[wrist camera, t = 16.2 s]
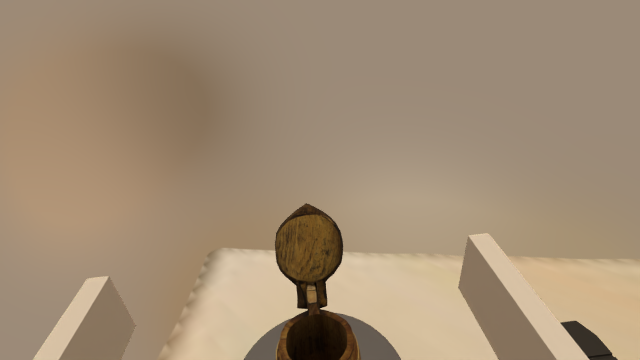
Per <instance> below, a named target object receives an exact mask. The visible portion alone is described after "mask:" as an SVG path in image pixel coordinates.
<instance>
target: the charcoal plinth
mask: <svg viewBox="0 0 640 360" xmlns="http://www.w3.org/2000/svg"><path fill="white" fill-rule="evenodd" d="M335 314H337V315H338V316H340V317H342V318H343V319H345V320H346V321H347V322H348V323H349V325H350V326H351V329H352V331H353V333H354V334H355V337H356V339H357V342H358V345H359V349H360V355H361V360H401V358H400V357H399V355H398V353H397V352H396V350H395V349H394V348H393V346H392V345H391V344H390V343H389V342H388V340H387V339H386V338H385V337H384V336H383V335H381V334H380V333H379V332H378V331H377V330H375V329H374V328H373V327H371V326H370V325H368V324H366V323H364V322H363V321H361V320H358V319H356V318H353V317H351V316H347V315H344V314H338V313H335ZM291 319H292V318H291ZM291 319H289V320H291ZM289 320H286V321H285V322H283V323H281V324H279V325H277V326H276V327H274V328H273V329H271V330H270V331H268V332H267V333H266V334H265V335H264V336H263V337H261V338H260V339H259V340H258V342H257V343H256V344H255V345H254V346H253V347H252V348H251V350H250V351H249V352H248V354H247V355H246V357H245V358H244V360H275V359H276V348H277V345H278V342H279V340H280V335H281V331H282V330H283V328H284V326H285V324H286V323H287V322H288V321H289Z"/></svg>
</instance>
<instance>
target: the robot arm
mask: <svg viewBox="0 0 640 360" xmlns="http://www.w3.org/2000/svg"><path fill="white" fill-rule="evenodd" d="M458 288H459V289H460V291H461V293H462V295H463V297H464V298H465V300H466V302H467V304H468V306H469V307H470V309H471V311H472V313H473V314H474V316H475V318H476V320H477V322H478V323H479V325H480V327H481V329H482V331H483V332H484V334H485V336H486V338H487V339H488V341H489V343H490V345H491V347H492V348H493V350H494V352H495V354H496V356H497V357H498V359H499V360H617V358H616V357H613V356H612V353H611V352H610V350H609V349H608V348H607V347H606V346H605V345H604V344H603V342H602V341H601V340H600V339H599V338H598V337H597V336H596V335H595V334H594V333H592V332H591V331H590V330H588V329H587V328H586V327H584V326H583V325H581V324H580V323H579V322H577V321H570V322H562V323H560V322H559V321H558V320H557V318H556V317H555V316H554V315H553V313H552V312H551V311H550V310H549V308H548V307H547V306H546V305H545V303H544V302H543V301H542V300H541V298H540V297H539V296H538V295H537V293H536V292H535V291H534V290H533V288H532V287H531V286H530V285H529V283H528V282H527V281H526V280H525V278H524V277H523V276H522V275H521V273H520V272H519V271H518V270H517V268H516V267H515V266H514V265H513V263H512V262H511V261H510V260H509V258H508V257H507V256H506V255H505V254H504V252H503V251H502V250H501V248H500V247H499V246H498V245H497V243H496V242H495V241H494V240H493V238H492V237H491V236H490V235H489V234H488V233H486V234H477V235H469V236H468V240H467V245H466V250H465V255H464V260H463V266H462V271H461V276H460V281H459V287H458ZM135 327H136V325H135V323H134V321H133V319H132V318H131V316H130V314H129V312H128V310H127V308H126V306H125V305H124V302H123V301H122V299H121V297H120V295H119V293H118V291H117V290H116V288H115V286H114V284H113V282H112V280H111V278H110V277H109V276H106V277H97V278H88V279H87V280H86V282H85V283H84V285H83V286H82V287H81V289H80V290H79V292H78V293H77V295H76V296H75V298H74V299H73V301H72V302H71V304H70V305H69V307H68V308H67V310H66V311H65V313H64V314H63V316H62V317H61V319H60V320H59V322H58V323H57V325H56V326H55V328H54V329H53V331H52V332H51V334H50V335H49V336H48V338H47V339H46V341H45V342H44V344H43V346H42V347H41V348H40V350H39V351H38V353H37V354H36V356H35V357H34V359H33V360H121V358H122V356H123V354H124V352H125V349H126V347H127V345H128V343H129V340H130V338H131V336H132V333H133V331H134V329H135Z"/></svg>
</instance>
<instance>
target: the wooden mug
mask: <svg viewBox="0 0 640 360" xmlns="http://www.w3.org/2000/svg"><path fill="white" fill-rule="evenodd" d="M275 250H276V260H277V264H278V266H279V269H280V271H281V272H282V273H283V274H284V275H285V276H286V277H287V278H288V279H289V280H290V281H292V282H293V283H294V284H295V285H296V286H297V297H298V304H297V308H301V309H308V311H305V312H303V313H301V314H299V315H297V316H295V317H294V318H292V319H291V320H289V321H288V322H287V323H286V324H285V326H284V328H283V330H282V331H281V335H280V340H279V342H278V345H277V348H276V359H275V360H361V355H360V349H359V345H358V342H357V339H356V337H355V334H354V333H353V331H352V329H351V326H350V325H349V323H348V322H347V321H346V320H345V319H343V318H342V317H340V316H338V315H337V314H335V313H332V312H329V311H326V310H321V309H320V308H322V307H325V306H327V294H326V283H325V282H326V281H327V279H328V278H329V277H330V276H332V275H333V274H334V273H335V271H336V270H337V268H338V267H339V265H340V264H341V261H342V255H343V241H342V236H341V232H340V230H339V228H338V226H337V224H336V223H335V222H334V221H333V220H332V218H331V217H329V216H328V215H327V214H326V213H324V212H323V211H321V210H319V209H317V208H315V207H313V206H311V205H309V204H305V205H303V206H302V207H300V208H299V209H297V210H296V211H295V212H294V213H293V214H292V215H290V216H289V217H288V218H287V219H286V220H285V221H284V222H283V223H282V224H281V226H280V227H279V229H278V231H277V233H276V241H275Z"/></svg>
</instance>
